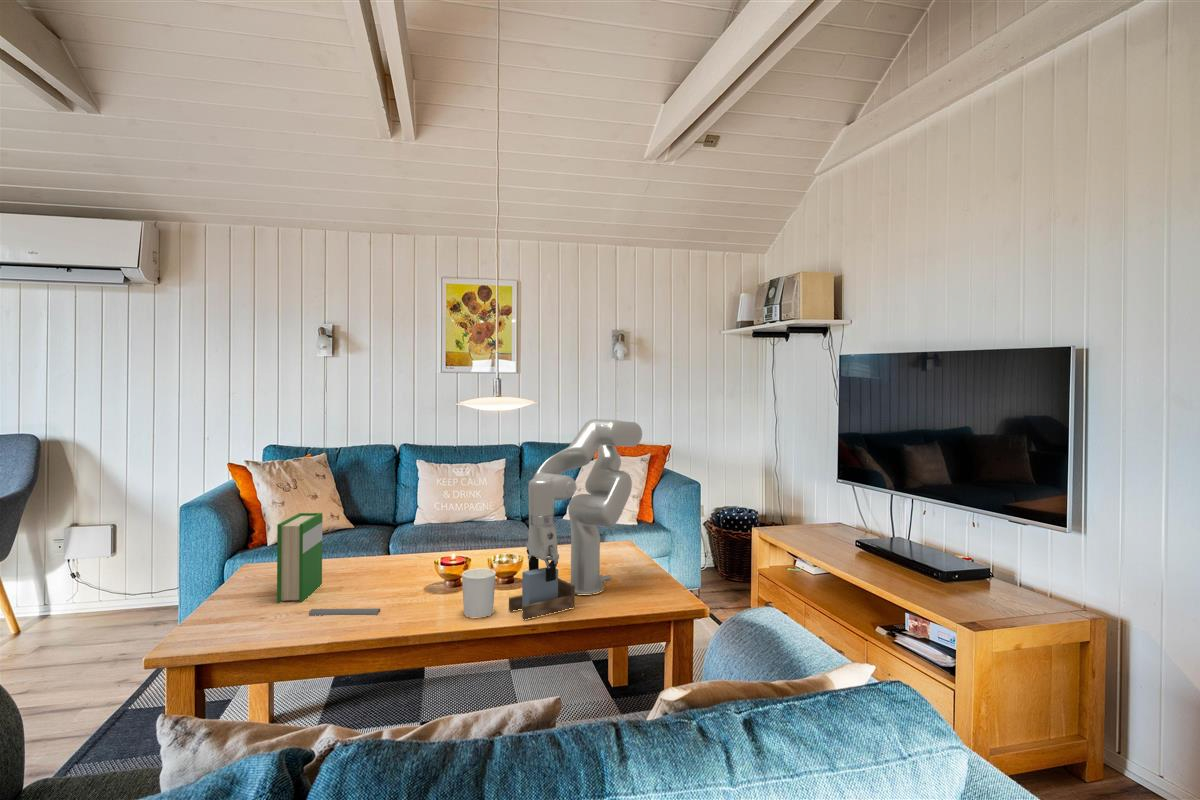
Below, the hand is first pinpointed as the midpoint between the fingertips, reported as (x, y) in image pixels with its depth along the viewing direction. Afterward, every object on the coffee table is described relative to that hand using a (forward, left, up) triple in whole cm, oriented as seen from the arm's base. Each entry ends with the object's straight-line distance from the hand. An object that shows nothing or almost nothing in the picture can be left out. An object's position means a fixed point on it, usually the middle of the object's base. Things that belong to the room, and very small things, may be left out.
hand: (542, 576), depth 186 cm
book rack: (+1, 0, -10) cm, 10 cm away
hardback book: (+56, -56, -10) cm, 79 cm away
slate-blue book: (+1, 0, -10) cm, 10 cm away
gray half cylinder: (+49, -30, -11) cm, 58 cm away
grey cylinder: (+17, -8, -10) cm, 21 cm away
